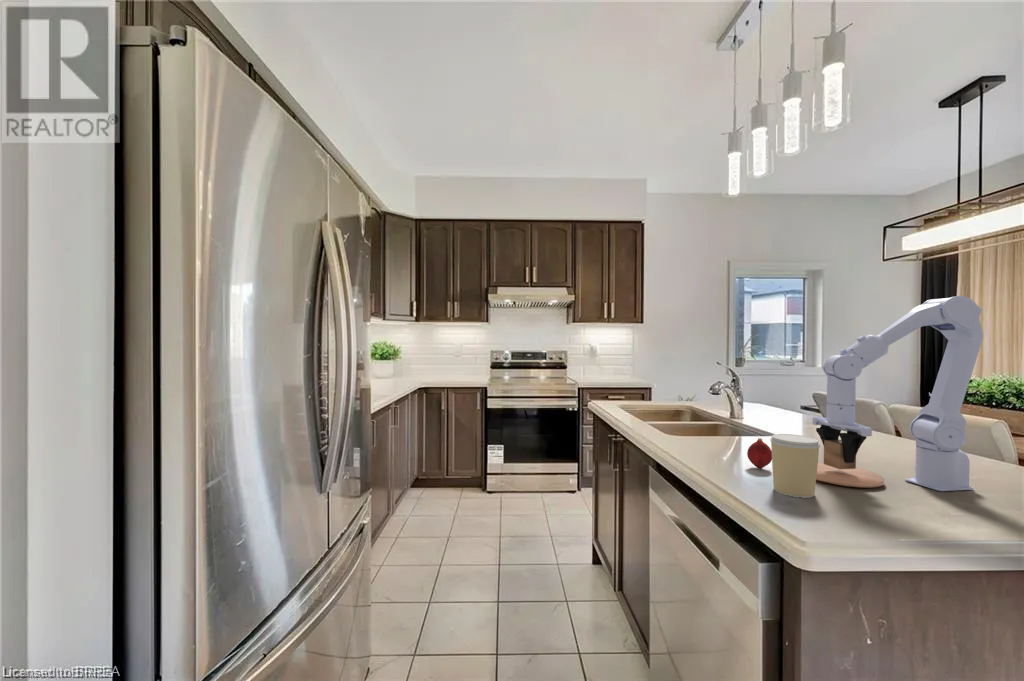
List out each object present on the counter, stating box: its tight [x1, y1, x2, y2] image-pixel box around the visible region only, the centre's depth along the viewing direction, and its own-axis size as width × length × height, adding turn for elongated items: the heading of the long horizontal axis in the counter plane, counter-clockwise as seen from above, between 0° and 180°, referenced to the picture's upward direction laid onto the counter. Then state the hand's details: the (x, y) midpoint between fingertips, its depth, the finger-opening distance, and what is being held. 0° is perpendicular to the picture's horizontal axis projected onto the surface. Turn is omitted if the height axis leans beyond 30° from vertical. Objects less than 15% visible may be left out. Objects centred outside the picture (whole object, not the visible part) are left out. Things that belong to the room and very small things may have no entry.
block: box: [823, 439, 857, 469], centre depth 111 cm, size 4×4×6 cm
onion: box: [746, 437, 772, 470], centre depth 118 cm, size 6×6×8 cm
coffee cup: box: [770, 433, 821, 499], centre depth 101 cm, size 9×9×12 cm
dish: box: [816, 462, 885, 488], centre depth 111 cm, size 17×17×2 cm
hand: (839, 459), depth 111 cm, fingers closed on block, 4 cm apart
